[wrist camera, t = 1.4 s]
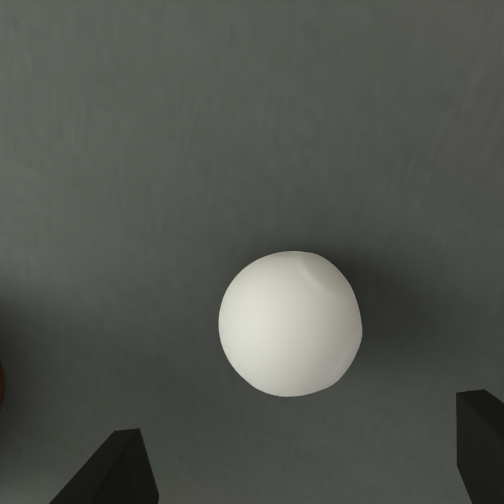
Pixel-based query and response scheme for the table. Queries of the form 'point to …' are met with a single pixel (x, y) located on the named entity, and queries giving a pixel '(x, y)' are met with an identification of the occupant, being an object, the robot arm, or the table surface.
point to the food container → (1, 386)
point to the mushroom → (290, 324)
